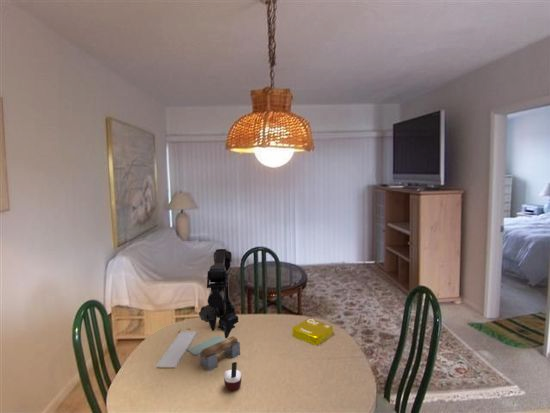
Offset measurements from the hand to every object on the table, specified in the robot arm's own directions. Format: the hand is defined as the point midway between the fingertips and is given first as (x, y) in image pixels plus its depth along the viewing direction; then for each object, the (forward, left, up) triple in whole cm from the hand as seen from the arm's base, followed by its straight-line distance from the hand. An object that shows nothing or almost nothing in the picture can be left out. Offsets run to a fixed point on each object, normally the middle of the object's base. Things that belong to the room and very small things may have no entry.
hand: (219, 334), depth 140 cm
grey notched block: (+6, 0, -11) cm, 13 cm away
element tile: (-43, +15, -12) cm, 47 cm away
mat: (-3, -14, -11) cm, 18 cm away
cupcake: (+8, +18, -11) cm, 23 cm away
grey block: (-6, 0, -11) cm, 13 cm away
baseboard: (+8, -22, -12) cm, 26 cm away
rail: (0, 0, -7) cm, 7 cm away
